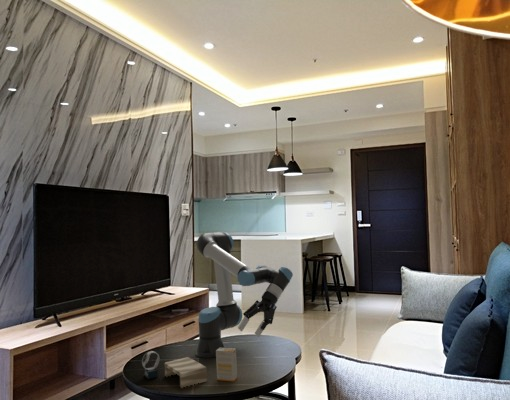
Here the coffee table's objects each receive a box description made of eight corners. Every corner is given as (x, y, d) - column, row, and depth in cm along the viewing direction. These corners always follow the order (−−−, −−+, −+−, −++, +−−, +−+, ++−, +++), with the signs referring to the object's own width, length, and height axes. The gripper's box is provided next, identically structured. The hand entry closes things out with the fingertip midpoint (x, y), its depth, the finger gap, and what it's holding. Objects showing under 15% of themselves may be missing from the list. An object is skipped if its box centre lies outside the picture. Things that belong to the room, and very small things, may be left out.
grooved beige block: (164, 376, 183) (164, 362, 184) (188, 369, 190) (188, 356, 191) (181, 388, 169) (181, 373, 169) (206, 381, 176) (206, 367, 176)
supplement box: (237, 378, 178) (236, 348, 179) (233, 382, 174) (232, 351, 174) (220, 376, 181) (220, 346, 182) (216, 380, 176) (215, 350, 177)
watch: (140, 376, 184) (140, 352, 184) (157, 372, 188) (157, 348, 189) (144, 380, 179) (143, 355, 180) (161, 376, 183) (161, 351, 184)
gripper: (293, 303, 186) (269, 342, 176) (260, 297, 206) (238, 332, 196) (284, 293, 183) (259, 332, 173) (252, 287, 203) (228, 323, 193)
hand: (248, 332), depth 185 cm, fingers open, 13 cm apart
